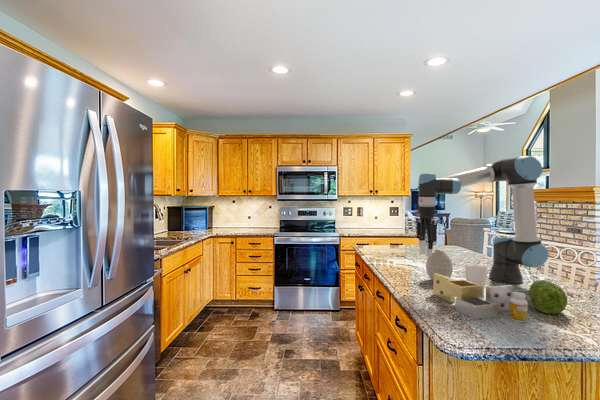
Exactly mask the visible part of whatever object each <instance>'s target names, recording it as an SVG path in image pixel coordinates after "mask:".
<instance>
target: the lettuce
mask: <svg viewBox="0 0 600 400" xmlns="http://www.w3.org/2000/svg"><path fill="white" fill-rule="evenodd" d="M528 296H529V298H530V302H531V303H532V305H533V307H534V308H536V309H537V311H539V312H541V313H543V314H547V315H558V314H560V313H562V312H563V311H564V310H566V307H567V306H568V296H567V294H566V292H565V290H563V289H562V288H561V287H560V286H559V285H556V284H555V283H553V282H552V281H549V280H545V279H542V280H541V279H539V280H538V279H537V280H536V281H534V282H532V284H530V287H529V291H528Z"/></svg>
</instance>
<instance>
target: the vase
mask: <svg viewBox="0 0 600 400" xmlns="http://www.w3.org/2000/svg"><path fill="white" fill-rule="evenodd" d="M427 257H428V258H427V259H426V263H425V271H426V274H427V275H428V278H429V279H430V280H431V281H432V282H433V276H434V273H438V274H441V275H444V276H446V277H449V278H451V277H452V274H453V273H454V272H453V269H454V265H453V262H452V259H451V258H450V256H449V255H448V254H447V253H446V251H444V249H441V248H438V249H435V250H434V251H432V256H427Z"/></svg>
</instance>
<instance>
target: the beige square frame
mask: <svg viewBox="0 0 600 400" xmlns="http://www.w3.org/2000/svg"><path fill="white" fill-rule="evenodd" d="M432 282H433V283H432V285H433V287H432V289H433V290H432V294H433V295H434V296H436V297H439V298H440V299H442V300H445V301H447V302H450V303H455V299H456V298H459V299H471V298H482V299H483V297H484V295H483V293H484V292H483V286H481V285H478V284H475V283H472V282H470V281H467V280H466V279H464V278H463V279H454V278H453V277H452V278H451V277H450V278H449V277H446V276H444V275H441V274H438V273H434V276H433V281H432Z"/></svg>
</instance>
